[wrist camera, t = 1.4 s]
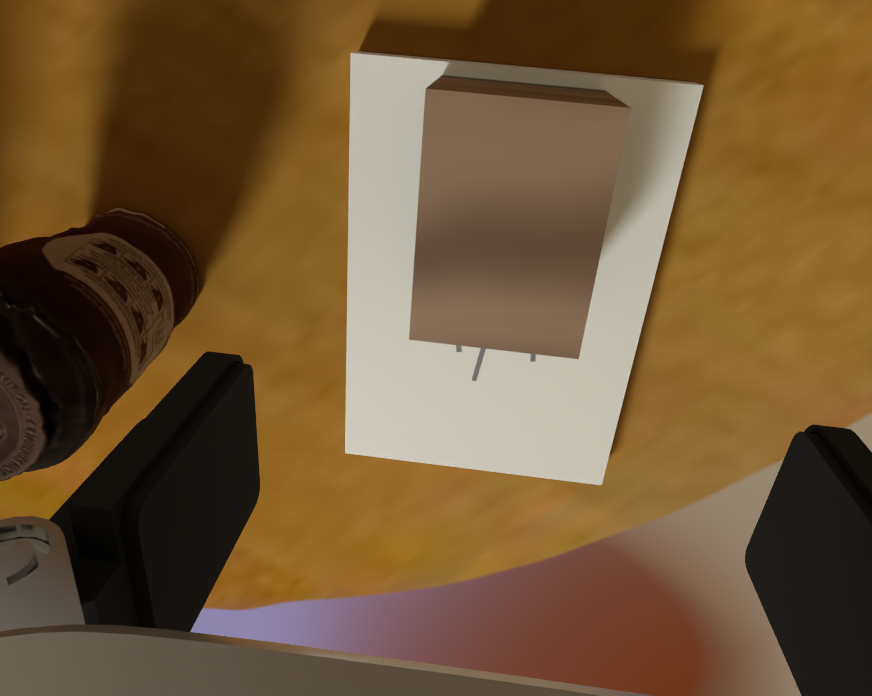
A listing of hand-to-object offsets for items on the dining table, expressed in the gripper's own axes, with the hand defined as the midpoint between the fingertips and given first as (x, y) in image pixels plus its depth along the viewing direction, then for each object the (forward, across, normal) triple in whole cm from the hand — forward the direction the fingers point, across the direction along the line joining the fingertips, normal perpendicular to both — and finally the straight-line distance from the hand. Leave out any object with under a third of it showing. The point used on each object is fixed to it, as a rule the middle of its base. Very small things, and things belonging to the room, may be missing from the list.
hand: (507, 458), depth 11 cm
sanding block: (+19, 0, 0) cm, 19 cm away
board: (+20, 0, +5) cm, 21 cm away
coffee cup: (+20, +18, +6) cm, 28 cm away
